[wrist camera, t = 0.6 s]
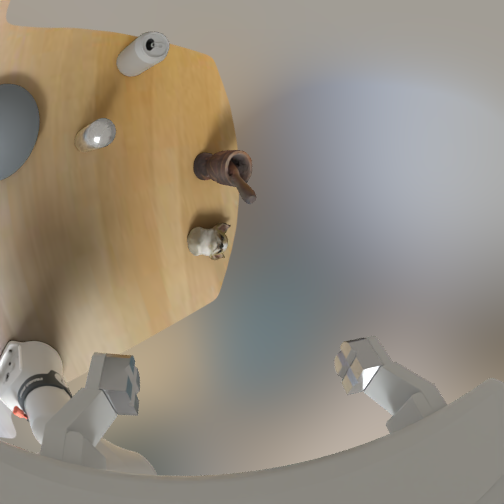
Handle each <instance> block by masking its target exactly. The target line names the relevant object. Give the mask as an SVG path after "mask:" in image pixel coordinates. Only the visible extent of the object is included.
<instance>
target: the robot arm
mask: <svg viewBox="0 0 504 504" xmlns="http://www.w3.org/2000/svg"><path fill="white" fill-rule="evenodd" d="M340 348H341V351H340V352H339V353H338V354H337V355H336V357H335V360H334V361H335V363H334V366H335V370H336V372H337V375H338V376H340V377H342V378H343V379H342V385H343V387H344V389H345V392H346V394H347V395H349V394H354V393H358V392H362V391H364V393H365V394H367V395H368V396H369V397H370V398H372V399H373V400H374V401H375V402H377V403H378V404H379V405H380V406H382V407H383V408H384V409H385V410H387V411H388V412H389V413H390V414H392V415H393V416H392V417H391V418H390V419H389V420H388V421H387V423H386V426H387V428H388V430H389V432H390V434H388V435H386V436H384V437H381V438H378V439H376V440H374V441H371V442H368V443H365V444H363V445H360V446H357V447H354V448H351V449H348V450H345V451H342V452H339V453H335V454H332V455H328V456H325V457H321V458H318V459H314V460H309V461H305V462H301V463H297V464H292V465H287V466H282V467H276V468H271V469H265V470H258V471H251V472H242V473H233V474H222V475H204V476H162V475H157V474H156V471H155V469H154V468H153V466H152V465H151V464H150V463H149V461H147V459H146V458H144V457H143V456H142V455H140V454H139V453H137V452H133V451H130V450H126V449H123V448H121V447H118V446H116V445H114V444H112V443H110V442H108V441H107V440H105V439H104V438H102V436H103V435H104V434H105V432H106V431H107V429H108V428H109V427H110V425H111V424H112V422H113V421H114V420H115V418H116V417H117V414H119V415H138V408H139V400H138V397H137V395H136V394H137V393H138V392H139V391H140V377H139V372H138V369H137V368H136V367H135V360H134V357H133V356H132V355H119V354H107V353H94V354H93V356H92V360H91V364H90V368H89V372H88V377H87V382H86V386H85V388H81V389H80V390H79V391H78V392H77V393H76V394H75V395H74V396H73V397H72V395H71V392H70V390H69V388H68V386H67V384H66V382H65V380H64V377H63V364H62V360H61V358H60V356H59V354H58V353H57V351H56V350H55V349H54V348H52V347H51V346H49V345H48V344H46V343H43V342H39V341H28V342H17V341H9V342H8V344H7V346H6V348H5V350H4V351H3V353H2V355H1V357H0V400H1V401H2V402H3V403H4V404H5V405H6V406H7V407H8V408H9V409H11V410H12V411H13V413H14V414H15V415H17V416H19V417H20V418H22V417H24V418H26V419H27V421H29V422H30V425H31V429H32V432H33V434H34V436H35V438H36V439H37V440H38V442H39V443H40V444H41V445H42V446H41V452H40V453H33V452H30V451H27V450H25V449H22V448H19V447H17V446H14V445H11V444H9V443H6V442H4V441H2V440H0V504H504V382H502V381H499V380H497V379H494V378H489V379H487V380H486V381H484V382H483V383H482V384H480V385H479V386H477V387H476V388H474V389H473V390H471V391H470V392H468V393H467V394H465V395H463V396H462V397H460V398H459V399H457V400H455V401H454V402H452V403H450V404H449V405H447V404H446V402H445V400H444V399H443V397H442V396H441V394H440V393H439V391H438V389H437V388H436V386H435V385H434V384H433V383H431V382H429V381H427V380H426V379H424V378H422V377H420V376H419V375H417V374H416V373H414V372H412V371H410V370H409V369H407V368H405V367H404V366H402V365H400V364H398V363H397V362H393V361H392V360H391V358H390V357H389V355H388V354H387V352H386V350H385V349H384V347H383V346H382V344H381V343H380V341H379V340H378V338H377V337H376V336H371V337H366V338H359V339H355V340H349V341H344V342H343V343H342V345H341V346H340ZM10 349H11V350H12V351H10Z"/></svg>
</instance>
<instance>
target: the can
mask: <svg viewBox="0 0 504 504" xmlns="http://www.w3.org/2000/svg"><path fill="white" fill-rule="evenodd" d="M168 50H169V41H168V39H167V38H166V36H164V35H163V34H162V33H159V32H146V33H144V34H142V35H140V36H139V37H138V38H136V39H135V40H134V41H133V42H132V43H131V44H129V45H128V46H127V47H126V48H125V49H124V50H123V51H122V52H121V53H120V54H119V55H118V58H117V67H118V69H119V71H120V72H121V73H122V74H124V75H126V76H137V75H139V74H141V73H142V72H144V71H146V70H147V69H149V68H150V67H152V66H154V65H155V64H157V63H159V62H160V61H162V60H163V59H164V58H165V57H166V56H167V53H168Z"/></svg>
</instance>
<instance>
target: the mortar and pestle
mask: <svg viewBox="0 0 504 504" xmlns="http://www.w3.org/2000/svg"><path fill="white" fill-rule="evenodd" d="M194 173H195V175H196V176H197V177H198V178H199V179H201V180H209V179H212V180H213V181H216V182H217V183H219V184H223V185H228V186H234V187H237V189H238V191H239V193H240V195H241V197H242V199H243V200H244V201H245V202H246V203H248V204H251V203H253V202H255V200H256V195H255V192H254V191H253V190H252V189H251V187H249V185H248V184H247V182H248V180H249V179H250V177H251V173H252V160H251V158H250V157H249V155H248V154H247V153H246V152H244V151H240V150H227V151H221V152H218V153H215V154H214V155H212V154H210V153H201V154H199V155H198V156H197V157H196V159H195V161H194Z"/></svg>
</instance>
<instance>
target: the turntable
mask: <svg viewBox="0 0 504 504" xmlns="http://www.w3.org/2000/svg"><path fill="white" fill-rule="evenodd" d="M38 131H39V111H38V107H37V104H36V102H35V100H34V98H33V97H32V95H31V94H30V93H29V92H28V91H27V90H26V89H24V88H22V87H20V86H18V85H14V84H1V85H0V180H2V179H5V178H7V177H9V176H10V175H12V174H13V173H15V172H16V171H17V170H18V169H19V168H20V167H21V166H22V165H23V164H24V163H25V161H26V160H27V159H28V157H29V155H30V154H31V152H32V150H33V147H34V145H35V142H36V140H37V136H38Z"/></svg>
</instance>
